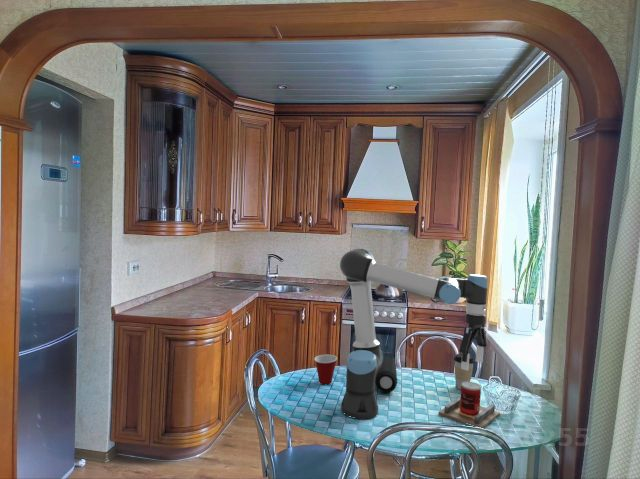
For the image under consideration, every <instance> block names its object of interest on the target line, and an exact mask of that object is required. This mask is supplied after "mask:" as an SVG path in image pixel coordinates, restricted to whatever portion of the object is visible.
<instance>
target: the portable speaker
mask: <svg viewBox="0 0 640 479" xmlns="http://www.w3.org/2000/svg"><path fill="white" fill-rule="evenodd" d="M397 374H398V373H397V365H396V362H395V361H394V359H393V358H391V357H390V356H383V363H382V366H381V368H380V369H379V371H378V373H377V374H376V378H375V388H377V389H378V391H380V392H382V393H391V392H392V391H394V390H395V389H396V388H397V385H398V375H397Z"/></svg>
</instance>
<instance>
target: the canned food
mask: <svg viewBox="0 0 640 479" xmlns="http://www.w3.org/2000/svg"><path fill="white" fill-rule="evenodd" d="M481 394H482V386H481V385H480V384H479V383H478V382H473V381H470V382H463V383H462V384H461V390H460V396H459V397H460V411H461V412H462V413H464V414H466V415H472V416H474V415H477V414H479V411H480V406H481Z"/></svg>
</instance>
